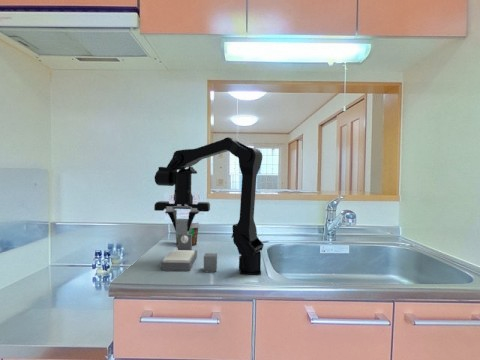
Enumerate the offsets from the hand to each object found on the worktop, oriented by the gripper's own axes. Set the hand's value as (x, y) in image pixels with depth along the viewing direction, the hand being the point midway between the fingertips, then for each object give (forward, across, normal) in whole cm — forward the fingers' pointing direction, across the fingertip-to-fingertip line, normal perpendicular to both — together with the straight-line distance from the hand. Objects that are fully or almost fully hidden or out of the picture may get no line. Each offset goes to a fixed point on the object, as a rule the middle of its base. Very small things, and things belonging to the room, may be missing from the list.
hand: (182, 230), depth 114 cm
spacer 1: (+1, 0, 0) cm, 1 cm away
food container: (+11, +4, -25) cm, 28 cm away
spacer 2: (+11, -11, +9) cm, 18 cm away
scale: (+11, 0, +3) cm, 11 cm away
